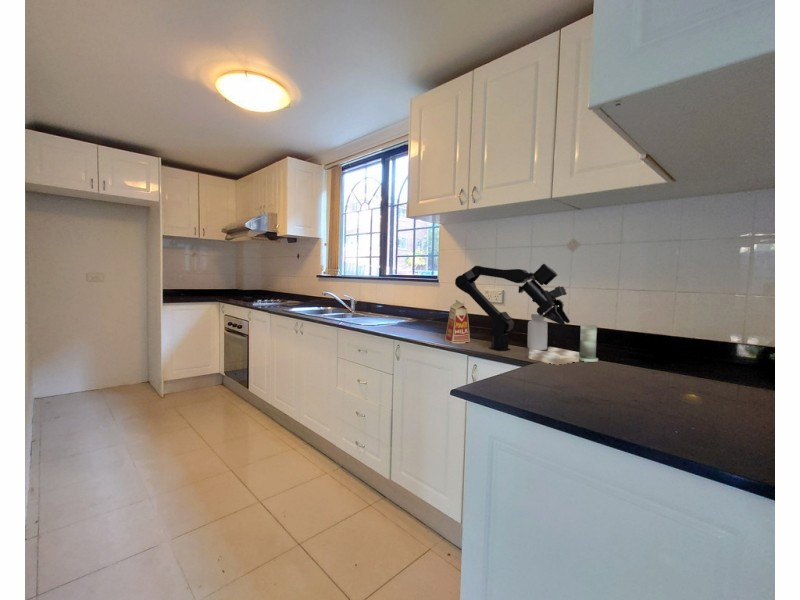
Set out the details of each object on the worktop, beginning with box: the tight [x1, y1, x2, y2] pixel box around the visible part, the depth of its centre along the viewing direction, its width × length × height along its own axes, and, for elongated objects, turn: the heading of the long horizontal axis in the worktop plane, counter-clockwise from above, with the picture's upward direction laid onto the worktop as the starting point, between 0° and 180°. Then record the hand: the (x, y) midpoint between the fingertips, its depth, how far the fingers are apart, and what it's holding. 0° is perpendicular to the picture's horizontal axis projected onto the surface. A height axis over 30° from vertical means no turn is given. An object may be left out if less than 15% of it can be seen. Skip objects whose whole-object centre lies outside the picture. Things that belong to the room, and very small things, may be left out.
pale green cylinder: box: [579, 324, 599, 363], centre depth 125 cm, size 7×7×13 cm
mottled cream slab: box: [528, 346, 580, 366], centre depth 125 cm, size 12×12×4 cm
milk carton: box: [444, 299, 470, 344], centre depth 161 cm, size 9×9×20 cm
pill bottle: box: [526, 313, 549, 351], centre depth 147 cm, size 8×8×15 cm
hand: (566, 323), depth 129 cm, fingers open, 9 cm apart
